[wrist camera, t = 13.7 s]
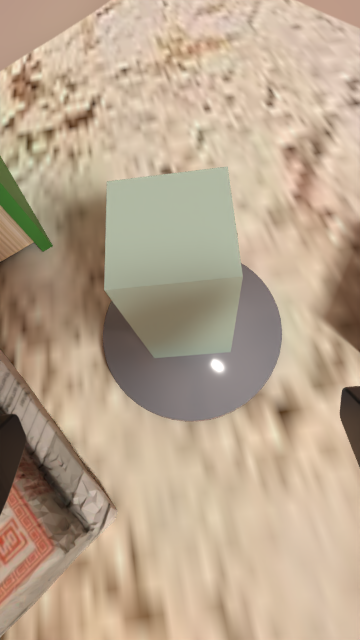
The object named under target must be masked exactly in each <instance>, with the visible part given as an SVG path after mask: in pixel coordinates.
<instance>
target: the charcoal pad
mask: <svg viewBox="0 0 360 640" xmlns="http://www.w3.org/2000/svg"><path fill="white" fill-rule="evenodd" d="M241 267H242V274H243V279H242V285H241V291H240V297H239V304H238V310H237V316H236V322H235V328H234V335H233V341H232V347H231V352H224V353H212V354H200V355H188V356H175V357H163V358H154V357H153V356H152V354H151V353H150V352H149V350H148V349H147V348H146V346H145V345H144V343H143V342H142V341H141V339H140V338H139V337H138V335H137V334H136V333H135V331H134V330H133V329H132V327H131V326H130V325H129V323H128V322H127V320H126V319H125V318H124V316H123V315H122V314H121V312H120V311H119V310H118V308H117V307H116V306H115V304H114V303H113V301H111V303H110V305H109V308H108V311H107V314H106V318H105V322H104V330H103V347H104V352H105V358H106V361H107V364H108V367H109V369H110V371H111V373H112V375H113V377H114V379H115V380H116V382H117V383H118V385H119V386H120V388H121V389H122V390H123V391H124V392H125V393H126V394H127V395H128V397H130V398H131V399H132V400H133V401H134V402H136V403H137V404H138V405H140V406H141V407H143V408H145V409H146V410H148V411H150V412H152V413H155V414H157V415H159V416H162V417H165V418H169V419H172V420H179V421H204V420H211V419H214V418H218V417H221V416H224V415H226V414H228V413H231V412H233V411H235V410H236V409H238V408H240V407H241V406H243V405H244V404H246V403H247V402H248V401H249V400H250V399H252V398H253V397H254V396H255V395H256V394H257V393H258V392H259V390H260V389H261V388H262V387H263V386H264V384H265V383H266V381H267V380H268V379H269V377H270V376H271V374H272V372H273V369H274V367H275V365H276V363H277V360H278V356H279V353H280V348H281V341H282V328H281V319H280V315H279V311H278V308H277V305H276V303H275V300H274V298H273V296H272V294H271V293H270V291H269V289H268V288H267V286H266V285H265V284H264V283H263V281H262V280H261V279H260V278H259V277H258V276H257V275H256V274H255V273H254V272H253V271H251V270H250V269H249V268H248V267H246V266H245V265H243V264H242V263H241Z"/></svg>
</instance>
